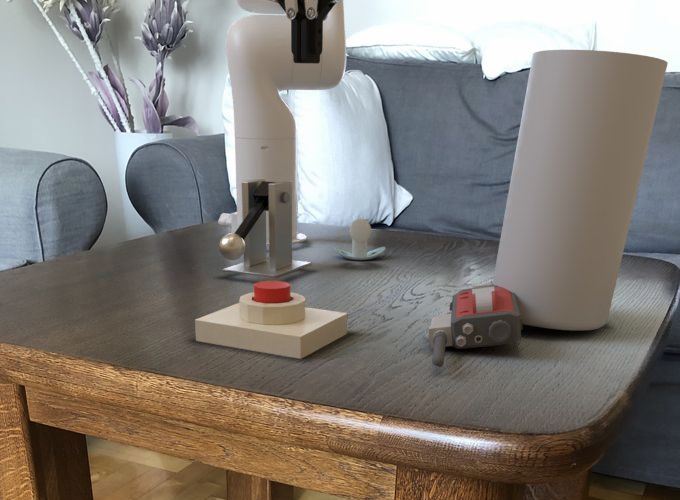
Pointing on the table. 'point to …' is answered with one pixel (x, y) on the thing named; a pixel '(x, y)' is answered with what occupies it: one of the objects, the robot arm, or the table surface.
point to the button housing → (272, 327)
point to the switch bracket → (278, 233)
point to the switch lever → (245, 225)
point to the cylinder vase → (576, 183)
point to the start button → (272, 292)
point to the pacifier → (360, 242)
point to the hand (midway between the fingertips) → (306, 62)
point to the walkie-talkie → (476, 320)
